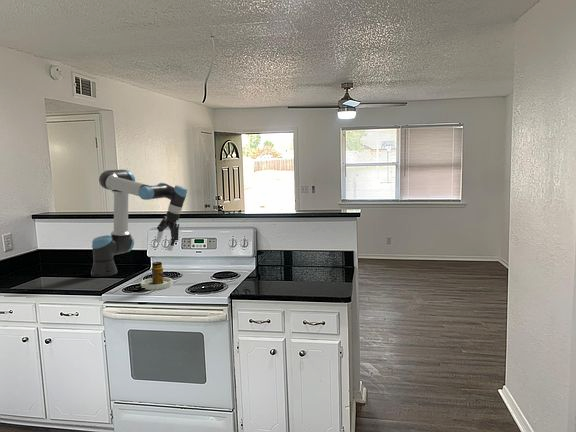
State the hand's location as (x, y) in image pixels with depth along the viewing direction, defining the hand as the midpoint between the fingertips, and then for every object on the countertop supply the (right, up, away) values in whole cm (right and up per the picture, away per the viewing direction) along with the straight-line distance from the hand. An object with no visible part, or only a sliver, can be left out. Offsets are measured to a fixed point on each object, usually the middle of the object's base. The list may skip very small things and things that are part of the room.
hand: (163, 246), depth 268 cm
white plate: (-1, -21, -11) cm, 24 cm away
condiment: (-1, -21, -11) cm, 23 cm away
